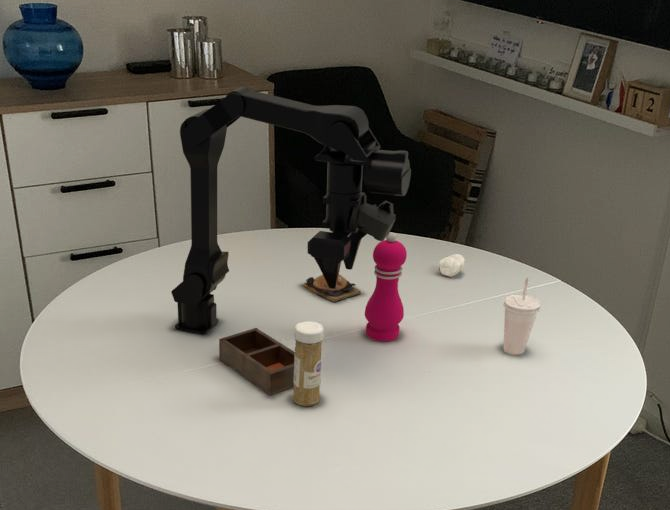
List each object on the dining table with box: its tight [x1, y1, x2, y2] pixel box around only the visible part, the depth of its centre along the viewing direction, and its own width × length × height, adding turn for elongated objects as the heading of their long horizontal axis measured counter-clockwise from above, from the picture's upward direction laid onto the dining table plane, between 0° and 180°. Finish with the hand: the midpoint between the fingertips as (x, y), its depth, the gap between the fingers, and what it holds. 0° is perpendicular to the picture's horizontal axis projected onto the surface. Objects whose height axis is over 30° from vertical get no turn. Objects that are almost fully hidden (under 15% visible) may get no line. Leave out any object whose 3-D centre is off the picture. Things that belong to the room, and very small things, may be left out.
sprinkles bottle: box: [292, 321, 325, 407], centre depth 143 cm, size 5×5×14 cm
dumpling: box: [438, 253, 466, 278], centre depth 192 cm, size 7×5×4 cm
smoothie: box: [502, 276, 542, 356], centre depth 158 cm, size 6×6×14 cm
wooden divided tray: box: [218, 327, 295, 396], centre depth 154 cm, size 15×8×4 cm, turn 35°
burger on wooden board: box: [302, 274, 362, 303], centre depth 183 cm, size 11×8×4 cm
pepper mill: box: [364, 231, 408, 342], centre depth 162 cm, size 7×7×20 cm
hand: (340, 278), depth 153 cm, fingers open, 9 cm apart
